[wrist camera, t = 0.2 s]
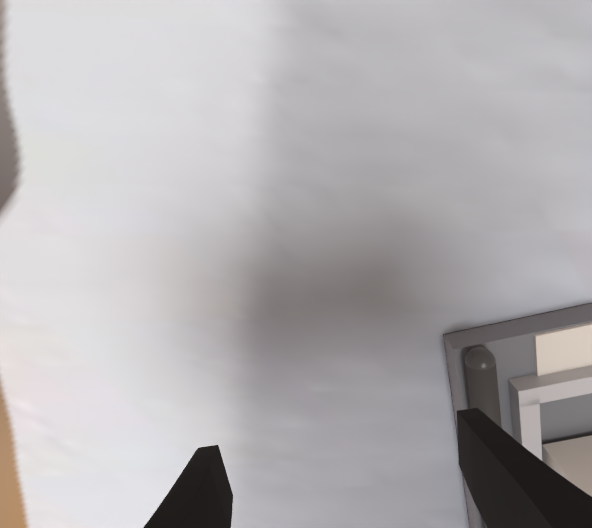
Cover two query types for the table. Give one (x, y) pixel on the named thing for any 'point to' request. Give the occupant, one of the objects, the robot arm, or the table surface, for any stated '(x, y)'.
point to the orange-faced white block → (572, 461)
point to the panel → (526, 379)
